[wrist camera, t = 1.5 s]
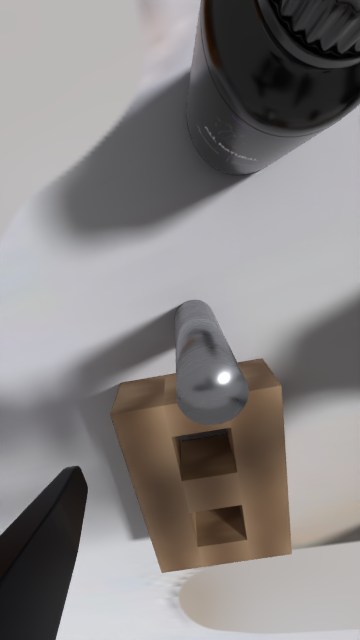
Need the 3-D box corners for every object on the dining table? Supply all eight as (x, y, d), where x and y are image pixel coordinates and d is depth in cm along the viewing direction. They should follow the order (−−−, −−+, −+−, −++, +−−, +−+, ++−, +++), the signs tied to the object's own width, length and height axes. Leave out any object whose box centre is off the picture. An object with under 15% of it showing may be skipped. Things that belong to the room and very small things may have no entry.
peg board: (262, 358, 22) (281, 385, 18) (275, 509, 27) (291, 553, 24) (121, 382, 22) (110, 414, 18) (163, 526, 28) (161, 572, 24)
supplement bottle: (193, 184, 17) (232, 95, 6) (178, 54, 15) (197, -497, 4) (296, 169, 17) (542, 47, 6) (297, 35, 15) (702, -599, 4)
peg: (210, 296, 20) (245, 357, 10) (215, 332, 21) (251, 418, 11) (171, 303, 20) (170, 370, 10) (178, 339, 21) (183, 430, 11)
